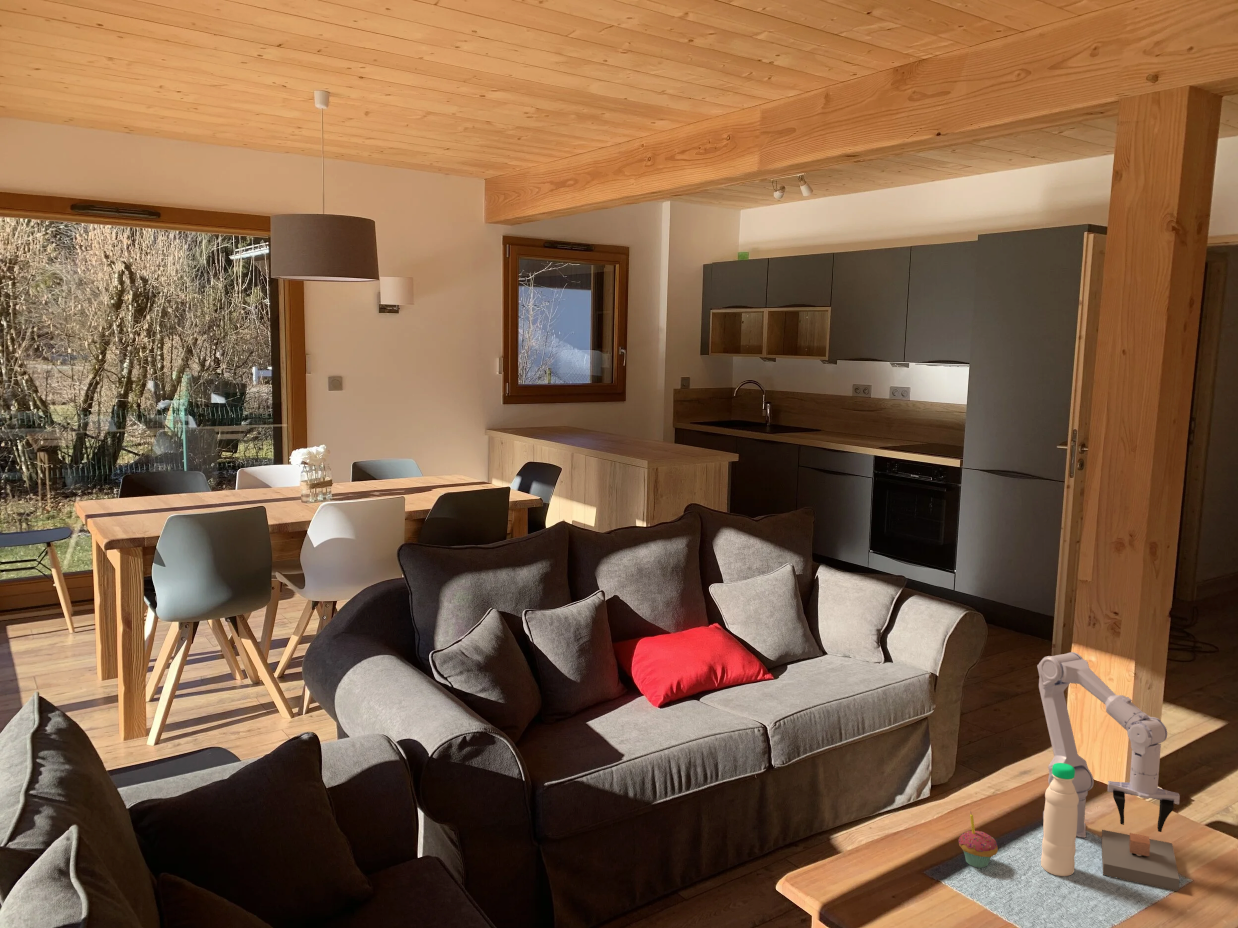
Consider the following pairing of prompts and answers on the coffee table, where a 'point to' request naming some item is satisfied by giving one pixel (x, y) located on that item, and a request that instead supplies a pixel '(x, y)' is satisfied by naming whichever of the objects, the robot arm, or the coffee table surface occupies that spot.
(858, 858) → the coffee table surface
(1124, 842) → the base
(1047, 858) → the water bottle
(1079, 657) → the robot arm
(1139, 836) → the orange rectangular block
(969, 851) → the cupcake
